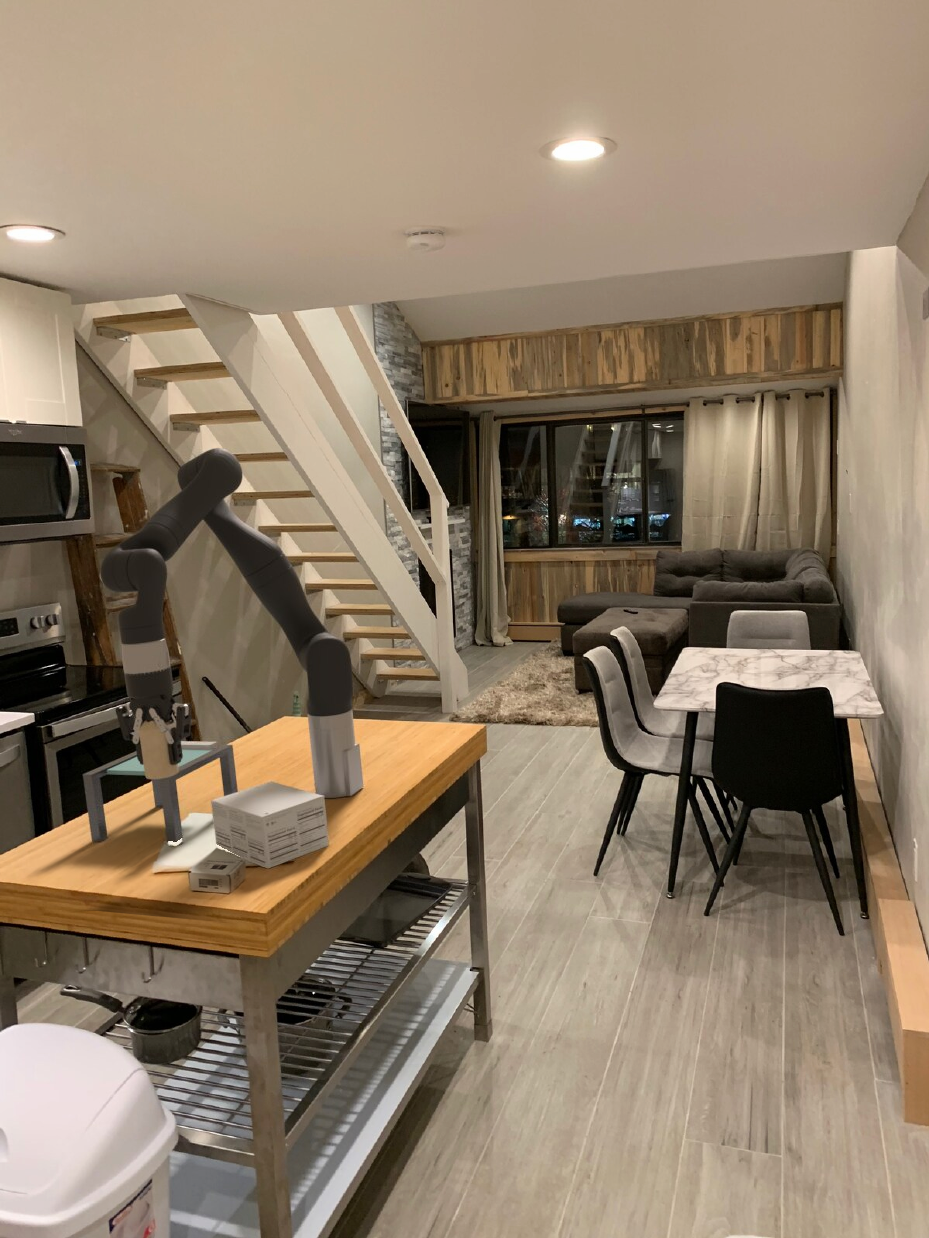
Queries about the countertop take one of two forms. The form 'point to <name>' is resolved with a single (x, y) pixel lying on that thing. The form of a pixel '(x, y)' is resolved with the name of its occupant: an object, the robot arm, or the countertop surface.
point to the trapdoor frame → (157, 791)
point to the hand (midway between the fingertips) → (160, 763)
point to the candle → (155, 752)
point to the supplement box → (270, 823)
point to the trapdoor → (189, 752)
